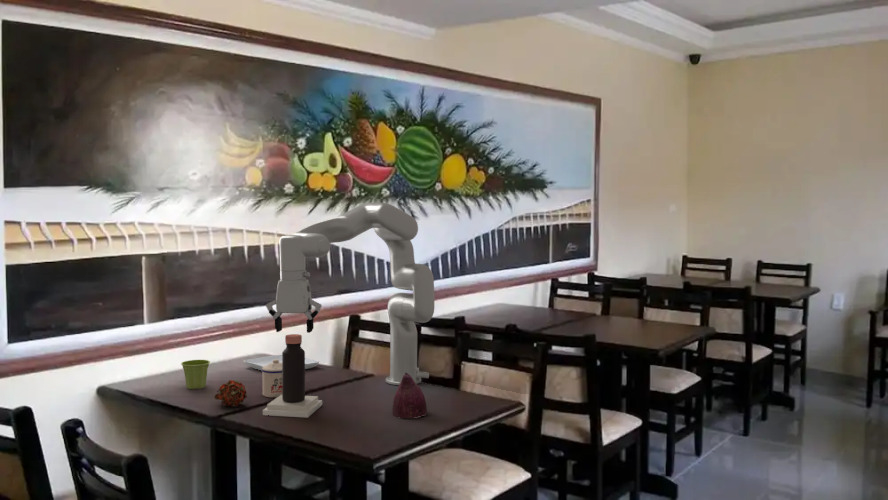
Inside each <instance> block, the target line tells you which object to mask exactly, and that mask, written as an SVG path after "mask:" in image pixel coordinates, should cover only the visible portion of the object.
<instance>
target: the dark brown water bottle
mask: <svg viewBox="0 0 888 500" xmlns="http://www.w3.org/2000/svg"><path fill="white" fill-rule="evenodd" d="M284 337H285V339H284V340H285V343H284V344H285V345H286V346H285V348H284V349H283V351H282V353H281V355H282V399H283V401H284V402H289V403H295V402H301V401H303V400H304V399H305V396H306V370H305V358H306V351H305V350H304V349H303V347H302V343H303V342H302V341H303V340H302V339H303V336H302V335H301V334H297V333H290V334H286V335H285V336H284Z"/></svg>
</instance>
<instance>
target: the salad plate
mask: <svg viewBox="0 0 888 500" xmlns="http://www.w3.org/2000/svg"><path fill="white" fill-rule="evenodd" d="M274 359H278V360H279V362H280V363H282V354H275V355H268V356H262V357H261V356H260V357H256V358H250V359H244V360H243V363H244V364H245V365H246V366H248V367H250V368H253V369H254V370H256V369H258V370H257V371H259V370H261V371H260V372H262V368H263V367H264V366H266V365H268V364H270V363H272V362H273V360H274ZM319 363H320V361H318V360H315V359H311V358H308V357H305V369H306V370H309V369H312V368H314V367H315V368H316V367H317V366H318V365H319Z"/></svg>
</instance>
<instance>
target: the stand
mask: <svg viewBox="0 0 888 500" xmlns="http://www.w3.org/2000/svg"><path fill="white" fill-rule="evenodd" d="M321 406H323V400H322V399H321V400H320V399H319V396H318V395H316V396H315V395H305V399H304V400H303V401H301V402H295V403H289V402H284V401H283V399H282V395H280V396H279V397H276V398H274V399H273V400H271V401H270V402H268V403H267V404H266V407H265V408H264V409H262V416H268V415H269V416H271V417H272V416H273V417H292V418H294V417H295V418H307V419H308V418H309V417H310V416H312V415H313V414H314V413H315V412H317V410H318V409H320V408H321Z"/></svg>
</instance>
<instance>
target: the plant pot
mask: <svg viewBox="0 0 888 500" xmlns="http://www.w3.org/2000/svg"><path fill="white" fill-rule="evenodd" d="M210 363H211V361H210V360H208V359H190V360H185V361H182V362H181V363H180V366H182V370H183V373H184V378H185V384H186V385H185V386H186V389H188V390H195V389H199V390H200V389H203V388H206V384H207V377H208V368H209V366H210V365H209V364H210Z"/></svg>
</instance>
